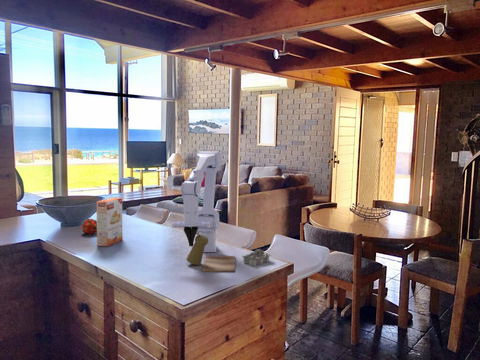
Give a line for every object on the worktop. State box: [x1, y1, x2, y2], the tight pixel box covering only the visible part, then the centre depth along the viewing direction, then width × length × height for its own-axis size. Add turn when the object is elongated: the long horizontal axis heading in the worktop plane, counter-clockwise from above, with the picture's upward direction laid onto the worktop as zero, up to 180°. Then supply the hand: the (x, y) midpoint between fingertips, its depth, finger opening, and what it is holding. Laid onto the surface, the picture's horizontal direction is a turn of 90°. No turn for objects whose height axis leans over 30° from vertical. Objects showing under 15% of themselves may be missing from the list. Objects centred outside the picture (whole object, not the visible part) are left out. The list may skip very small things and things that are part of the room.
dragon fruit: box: [81, 218, 97, 236], centre depth 201 cm, size 8×8×12 cm
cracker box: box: [95, 197, 123, 247], centre depth 183 cm, size 14×6×21 cm, turn 168°
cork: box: [185, 234, 208, 266], centre depth 152 cm, size 6×6×11 cm
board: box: [201, 255, 236, 273], centre depth 153 cm, size 18×12×1 cm, turn 0°
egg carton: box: [241, 248, 272, 266], centre depth 157 cm, size 11×8×4 cm
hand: (191, 245), depth 152 cm, fingers closed
